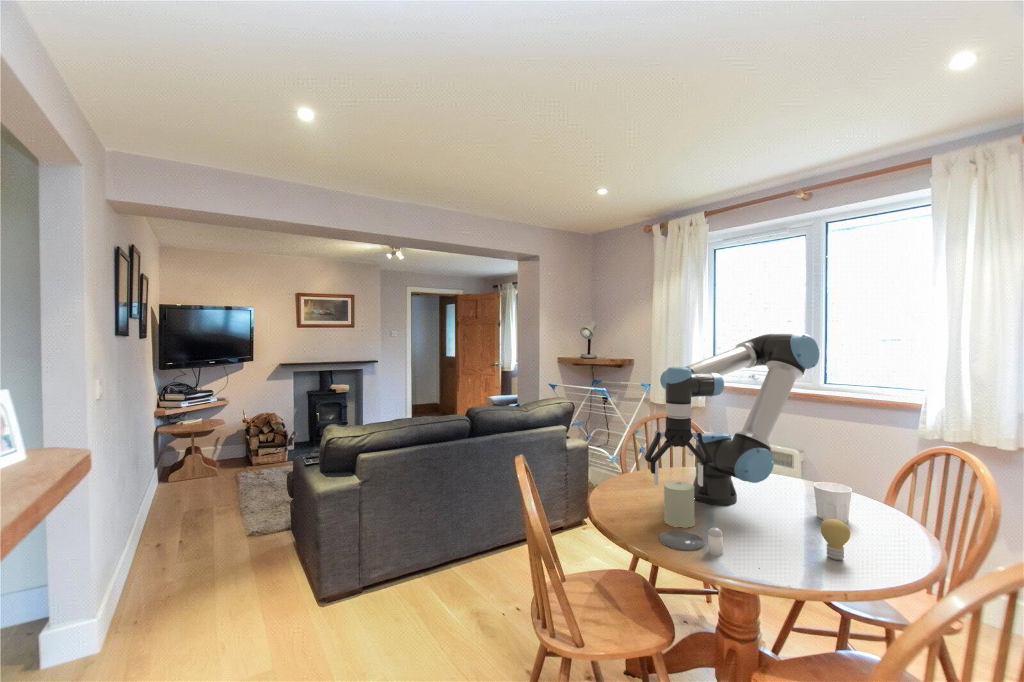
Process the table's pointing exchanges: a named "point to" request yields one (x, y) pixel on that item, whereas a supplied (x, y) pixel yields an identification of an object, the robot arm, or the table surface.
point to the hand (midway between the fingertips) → (677, 484)
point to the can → (679, 504)
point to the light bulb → (835, 537)
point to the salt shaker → (715, 542)
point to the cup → (832, 501)
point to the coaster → (682, 540)
